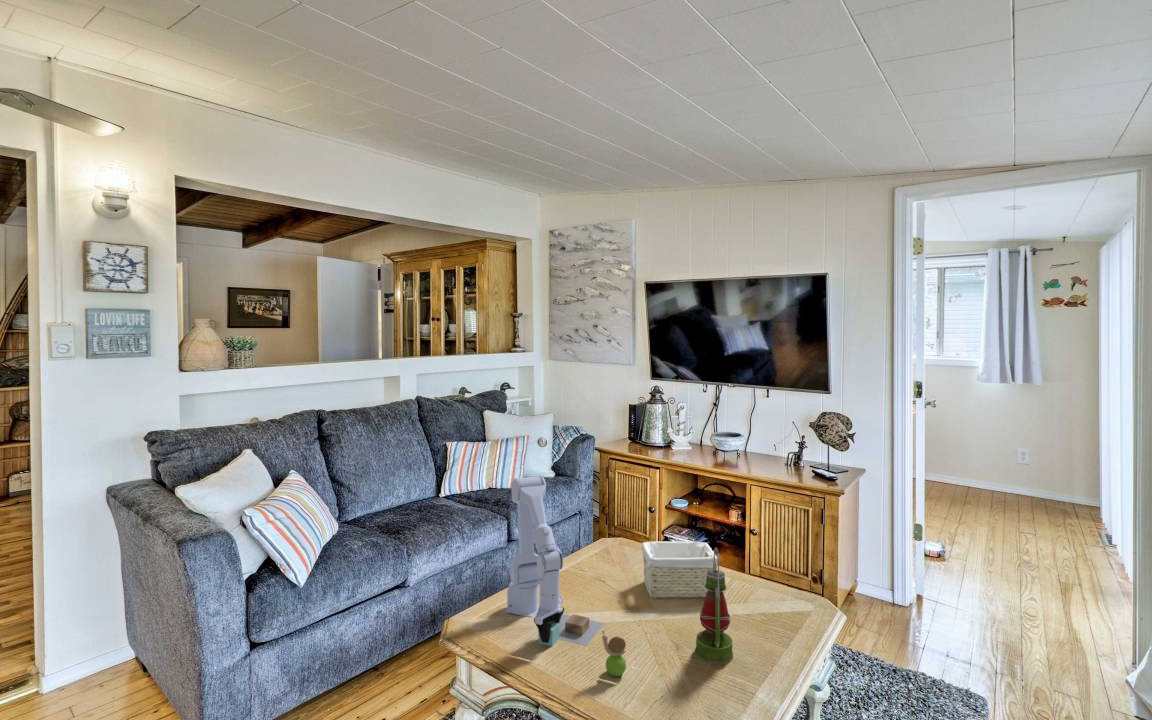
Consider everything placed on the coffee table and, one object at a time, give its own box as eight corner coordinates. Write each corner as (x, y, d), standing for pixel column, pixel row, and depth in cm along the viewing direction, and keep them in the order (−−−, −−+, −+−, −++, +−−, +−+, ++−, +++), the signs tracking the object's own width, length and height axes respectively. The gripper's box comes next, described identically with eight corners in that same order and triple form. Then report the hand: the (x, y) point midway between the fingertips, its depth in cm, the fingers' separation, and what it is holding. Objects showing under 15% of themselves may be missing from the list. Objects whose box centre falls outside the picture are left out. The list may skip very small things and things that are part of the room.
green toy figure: (600, 669, 160) (601, 626, 159) (624, 668, 160) (624, 625, 160) (603, 681, 155) (603, 636, 154) (627, 680, 155) (628, 635, 154)
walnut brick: (565, 632, 178) (565, 622, 178) (572, 623, 183) (572, 614, 183) (582, 636, 176) (582, 626, 176) (589, 627, 181) (589, 617, 181)
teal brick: (538, 644, 172) (538, 627, 172) (545, 636, 176) (545, 620, 176) (552, 647, 170) (552, 630, 170) (559, 640, 174) (559, 623, 174)
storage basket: (705, 579, 217) (706, 540, 216) (718, 600, 201) (719, 557, 200) (640, 580, 216) (640, 540, 215) (647, 601, 199) (648, 558, 198)
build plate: (543, 636, 177) (543, 635, 177) (562, 615, 189) (563, 614, 189) (586, 646, 171) (586, 645, 171) (604, 624, 184) (604, 623, 184)
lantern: (692, 639, 175) (694, 539, 174) (729, 641, 174) (731, 541, 173) (697, 666, 162) (699, 558, 160) (737, 668, 161) (740, 560, 159)
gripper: (550, 605, 164) (550, 652, 165) (572, 584, 178) (571, 628, 178) (528, 600, 167) (528, 647, 168) (550, 580, 180) (550, 623, 181)
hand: (549, 637), depth 173 cm, fingers open, 5 cm apart
